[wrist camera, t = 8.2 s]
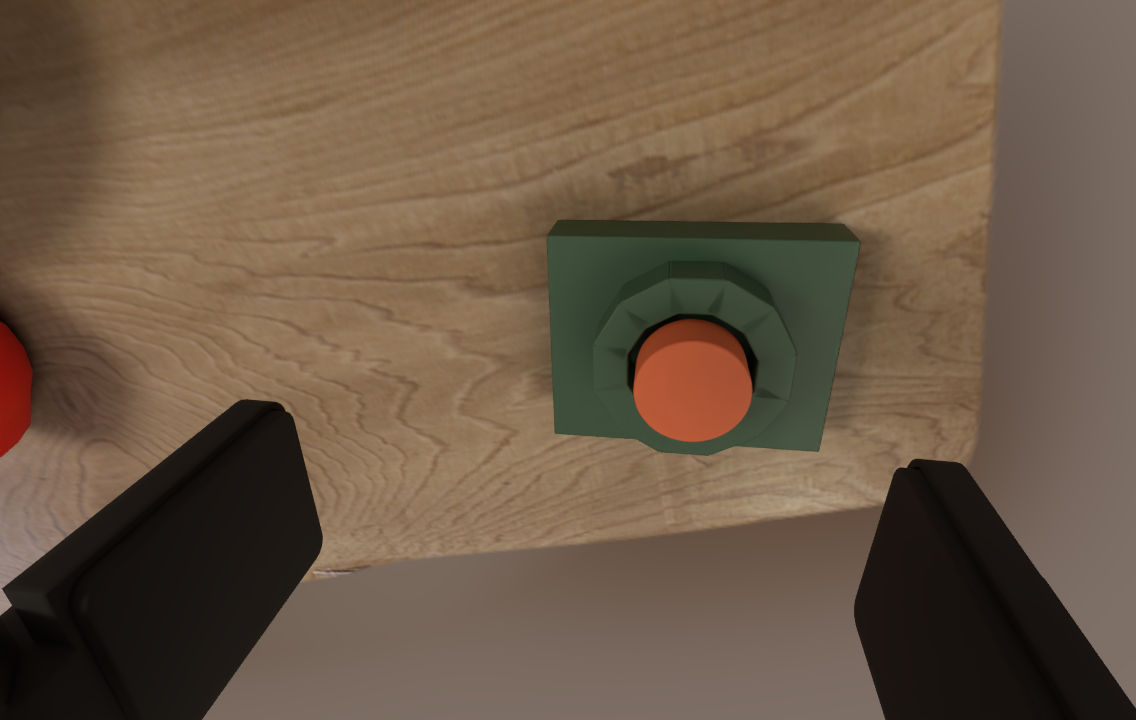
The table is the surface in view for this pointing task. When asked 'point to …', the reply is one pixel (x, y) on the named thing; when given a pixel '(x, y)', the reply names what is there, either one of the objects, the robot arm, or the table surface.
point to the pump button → (692, 381)
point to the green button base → (706, 292)
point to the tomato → (13, 390)
